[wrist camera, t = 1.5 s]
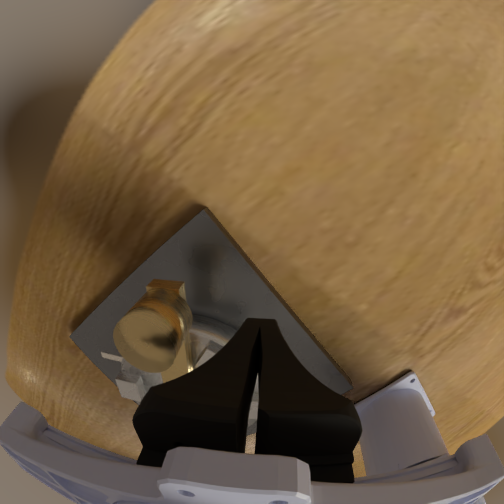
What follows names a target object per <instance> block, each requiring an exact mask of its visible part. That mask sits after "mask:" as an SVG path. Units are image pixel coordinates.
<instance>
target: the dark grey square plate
mask: <svg viewBox="0 0 504 504" xmlns="http://www.w3.org/2000/svg"><path fill="white" fill-rule="evenodd" d="M153 279H161V280H173V281H185V291H186V302H187V304H188V305H189V307H190V309H191V312H192V314H193V315H199V316H204V317H208V318H211V319H214V320H217V321H219V322H222V323H224V324H226V325H228V326H230V327H232V328H233V329H235V330H236V331H238V329H239V328H240V327H241V325H242V324H243V322H244V320H245V319H246V318H264V319H275V320H276V321H277V323H278V326H279V329H280V331H281V333H282V335H283V337H284V339H285V341H286V342H287V344H288V346H289V347H290V349H291V350H292V352H293V353H294V355H295V356H296V357H297V359H298V360H299V361H300V362H301V364H302V365H303V366H304V367H305V368H306V369H307V370H308V371H309V372H310V373H311V374H312V375H313V376H314V377H315V378H317V379H318V380H319V381H320V382H321V383H323V384H324V385H325V386H327V387H328V388H330V389H331V390H333V391H334V392H336V393H338V394H340V395H342V394H343V393H345V392H347V391H349V390H351V389H353V385H352V382H351V380H350V378H349V377H348V376H347V375H346V374H345V372H344V371H343V370H342V369H341V368H340V367H339V365H338V364H337V363H336V362H335V361H334V359H333V358H332V357H331V356H330V355H329V353H328V352H327V351H326V350H325V349H324V347H323V346H322V345H321V344H320V343H319V341H318V340H317V339H316V338H315V337H314V335H313V334H312V333H311V332H310V331H309V329H308V328H307V327H306V326H305V325H304V323H303V322H302V321H301V320H300V319H299V317H298V316H297V315H296V314H295V313H294V311H293V310H292V309H291V308H290V307H289V305H288V304H287V303H286V302H285V301H284V299H283V298H282V297H281V296H280V295H279V293H278V292H277V291H276V290H275V289H274V287H273V286H272V285H271V284H270V283H269V281H268V280H267V279H266V278H265V277H264V275H263V274H262V273H261V272H260V270H259V269H258V268H257V267H256V266H255V264H254V263H253V262H252V261H251V260H250V258H249V257H248V256H247V255H246V254H245V252H244V251H243V250H242V249H241V247H240V246H239V245H238V244H237V243H236V241H235V240H234V239H233V238H232V237H231V235H230V234H229V233H228V232H227V230H226V229H225V228H224V227H223V226H222V224H221V223H220V222H219V221H218V219H217V218H216V217H215V216H214V215H213V213H212V212H211V211H210V210H209V209H208V207H206V208H205V209H203V210H202V211H201V212H200V213H199V214H197V215H196V216H195V217H194V218H193V219H192V220H190V221H189V222H188V223H187V224H186V225H185V226H184V227H182V228H181V229H180V230H179V231H178V232H177V233H176V234H174V235H173V236H172V237H171V238H170V239H169V240H168V241H167V242H165V243H164V244H163V245H162V246H161V247H160V248H159V249H158V250H157V251H155V252H154V253H153V254H152V255H151V256H150V257H149V258H148V259H147V260H146V261H145V262H144V263H142V264H141V265H140V266H139V267H138V268H137V269H136V270H135V271H134V272H133V273H132V274H131V275H130V276H129V277H128V278H127V279H126V280H124V281H123V282H122V283H121V284H120V285H119V286H118V287H117V288H116V289H115V290H114V291H113V292H112V293H111V294H110V295H109V296H108V297H107V298H106V299H105V300H104V301H103V302H102V303H101V304H100V305H99V306H98V307H97V308H96V309H95V310H94V311H93V312H92V313H91V314H90V315H89V316H88V317H87V318H86V319H85V320H84V321H83V322H82V324H81V325H80V326H79V327H78V328H77V329H76V330H75V331H74V332H73V333H72V334H71V335H70V336H69V337H70V338H71V339H72V340H73V341H74V342H75V344H76V345H77V346H78V347H79V348H80V349H81V350H82V351H83V352H84V353H85V355H86V356H87V357H88V358H89V359H90V360H91V361H92V362H93V363H94V364H95V365H96V366H97V367H98V368H99V369H100V370H101V371H102V372H103V373H104V374H105V375H106V376H107V377H108V378H109V379H110V380H111V381H112V382H113V383H114V384H115V385H116V386H117V383H116V380H115V378H116V377H117V375H118V374H119V372H120V371H122V370H121V364H122V359H123V357H122V356H121V354H120V353H119V351H118V350H117V348H116V346H115V343H114V339H113V331H114V328H115V326H116V324H117V323H118V322H119V321H120V320H121V319H122V318H123V316H124V315H125V314H126V313H127V312H128V311H129V310H130V309H131V308H132V307H133V306H134V304H135V303H136V302H137V301H138V300H139V299H140V298H141V297H142V296H143V295H144V294H145V293H146V292H147V290H146V286H147V285H148V284H149V283H150V282H151V281H152V280H153ZM133 401H134V402H135V403H137V402H136V401H135V400H133ZM137 404H138V403H137ZM138 405H139V404H138ZM256 429H257V420H256V421H255V422H254V423H253V424H252V425H250V426H249V427H247V436H248V435H250V434H253V433H256Z"/></svg>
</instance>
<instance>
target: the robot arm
mask: <svg viewBox="0 0 504 504" xmlns="http://www.w3.org/2000/svg"><path fill="white" fill-rule="evenodd" d="M257 374H258V392H259V402H258V413H257V429H256V444H255V454H247V453H245V445H246V436H247V427H248V418H249V412H250V407H251V402H252V398H253V393H254V389H255V384H256V379H257ZM434 415H435V411H434V409H433V407H432V405H431V403H430V401H429V399H428V397H427V395H426V393H425V391H424V389H423V387H422V385H421V384H420V382H419V380H418V378H417V376H416V374H415V372H409V373H407V374H406V375H404V376H403V377H401V378H400V379H398V380H396V381H395V382H393V383H392V384H390V385H388V386H387V387H385V388H383V389H382V390H380V391H378V392H376V393H375V394H373V395H371V396H369V397H368V398H366V399H364V400H362V401H360V402H358V403H357V404H355V405H354V404H353V402H352V401H351V400H349V399H347V398H345V397H344V396H342V395H340V394H338V393H336V392H334V391H333V390H331V389H330V388H328V387H327V386H325V385H324V384H323V383H321V382H320V381H319V380H318V379H317V378H315V377H314V376H313V375H312V374H311V373H310V372H309V371H308V370H307V369H306V368H305V367H304V366H303V365H302V364H301V362H300V361H299V360H298V359H297V357H296V356H295V355H294V353H293V352H292V350H291V349H290V347H289V346H288V344H287V342H286V341H285V339H284V337H283V335H282V333H281V331H280V329H279V326H278V323H277V321H276V320H275V319H264V318H246V319H245V320H244V322H243V324H242V325H241V327H240V328H239V329H238V331H237V332H236V333H235V334H234V336H233V337H232V338H231V339H230V340H229V341H228V343H227V344H226V345H225V346H224V347H223V348H222V349H220V350H219V351H218V352H217V353H216V354H215V355H214V356H213V357H211V358H210V359H209V360H208V361H206V362H205V363H203V364H202V365H200V366H199V367H197V368H196V369H194V370H192V371H190V372H189V373H187V374H185V375H182V376H180V377H178V378H176V379H173V380H171V381H168V382H165V383H162V384H159V385H156V386H152V387H150V389H149V390H148V392H147V393H146V394H145V396H144V397H143V399H142V400H141V402H140V404H139V406H138V408H137V410H136V412H135V414H134V416H133V420H132V421H133V425H134V428H135V430H136V433H137V435H138V437H139V439H140V441H141V443H142V445H143V448H142V451H141V453H140V455H139V458H138V460H134V459H131V458H128V457H125V456H122V455H119V454H116V453H113V452H110V451H107V450H105V449H102V448H99V447H97V446H94V445H92V444H89V443H87V442H85V441H82V440H80V439H78V438H75V437H73V436H71V435H69V434H67V433H64V432H62V431H60V430H58V429H56V428H54V427H52V426H50V425H48V422H47V421H46V419H45V417H44V416H43V415H42V414H41V413H40V412H39V411H38V410H36V409H35V408H33V407H31V406H29V405H27V404H26V403H24V402H20V403H19V404H18V405H17V407H16V408H15V409H14V410H13V411H12V413H11V414H10V415H9V416H8V417H7V419H6V420H5V421H4V422H3V424H2V425H1V426H0V445H1V446H2V447H3V448H4V450H5V451H6V452H7V453H8V454H9V455H10V456H11V457H12V458H13V459H14V461H15V462H16V463H17V464H18V465H19V466H20V467H21V468H22V469H23V470H25V471H26V472H28V473H29V474H30V475H32V476H33V477H35V478H37V479H38V480H39V481H41V482H42V483H44V484H45V485H47V486H48V487H50V488H52V489H53V490H55V491H56V492H58V493H60V494H61V495H63V496H65V497H66V498H68V499H70V500H71V501H73V502H75V503H77V504H486V501H485V498H484V495H485V494H486V493H487V492H488V491H489V490H490V489H492V488H493V487H494V486H495V485H496V484H497V483H499V482H500V481H501V480H502V479H503V478H504V467H503V465H502V463H501V461H500V459H499V457H498V455H497V453H496V451H495V449H494V447H493V445H492V443H491V441H490V439H489V437H488V435H487V434H483V435H481V436H478V437H476V438H473V439H471V440H468V441H467V442H465V443H464V444H462V445H461V446H460V447H459V448H458V450H457V451H456V452H455V454H453V455H449V453H448V450H447V448H446V446H445V443H444V441H443V439H442V437H441V434H440V432H439V430H438V428H437V426H436V423H435V421H434V419H433V416H434ZM358 441H360V446H361V451H362V455H363V460H364V465H365V470H366V475H367V476H365V477H358V478H354V474H353V468H352V463H353V462H354V457H353V450H354V448H355V446H356V445H357V443H358Z"/></svg>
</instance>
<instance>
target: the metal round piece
mask: <svg viewBox="0 0 504 504" xmlns="http://www.w3.org/2000/svg"><path fill="white" fill-rule="evenodd" d="M146 290H147V292H146V293H145V294H144V295H143V296H142V297H141V298H140V299H139V300H138V301H137V302H136V303H135V304H134V306H133V307H132V308H131V309H130V310H129V311H128V312H127V313H126V314H125V315H124V316H123V318H122V319H121V320H120V321H119V322H118V323H117V324H116V326H115V328H114V331H113V339H114V343H115V346H116V348H117V350H118V351H119V353H120V354H121V356H122V357H123V359H122V364H121V370H122V371H120V372H119V374H118V375H117V377H116V378H115V380H116V383H117V386H118V389H119V391H120V394H121V397H124V398H128V399H131V400H135V401H136V402H137V403H138V404H140V402H141V400H142V399H143V397H144V396H145V394H146V393H147V392H148V390H149V389H150V387H152V386H156V385H159V384H162V383H165V382H168V381H171V380H173V379H176V378H178V377H180V376H182V375H185V374H187V373H189V372H190V371H192V370H194V369H196V368H197V367H199V366H200V365H202V364H203V363H205V362H206V361H208V360H209V359H210V358H211V357H213V356H214V355H215V354H216V353H217V352H218V351H219V350H220V349H222V348H223V347H224V346H225V345H226V344H227V343H228V341H229V340H230V339H231V338H232V337H233V336H234V334H235V333H236V332H237V331H236V330H235V329H233V328H232V327H230V326H228V325H226V324H224V323H222V322H219V321H217V320H214V319H211V318H208V317H204V316H199V315H193V314H192V312H191V309H190V307H189V305H188V304H187V302H186V291H185V281H173V280H161V279H153V280H152V281H151V282H150V283H149V284H148V285H147V286H146ZM258 402H259V392H258V374H257V379H256V384H255V389H254V393H253V398H252V402H251V407H250V412H249V418H248V427H249V426H250V425H252V424H253V423H254V422H255V421H256V420H257V413H258Z"/></svg>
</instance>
